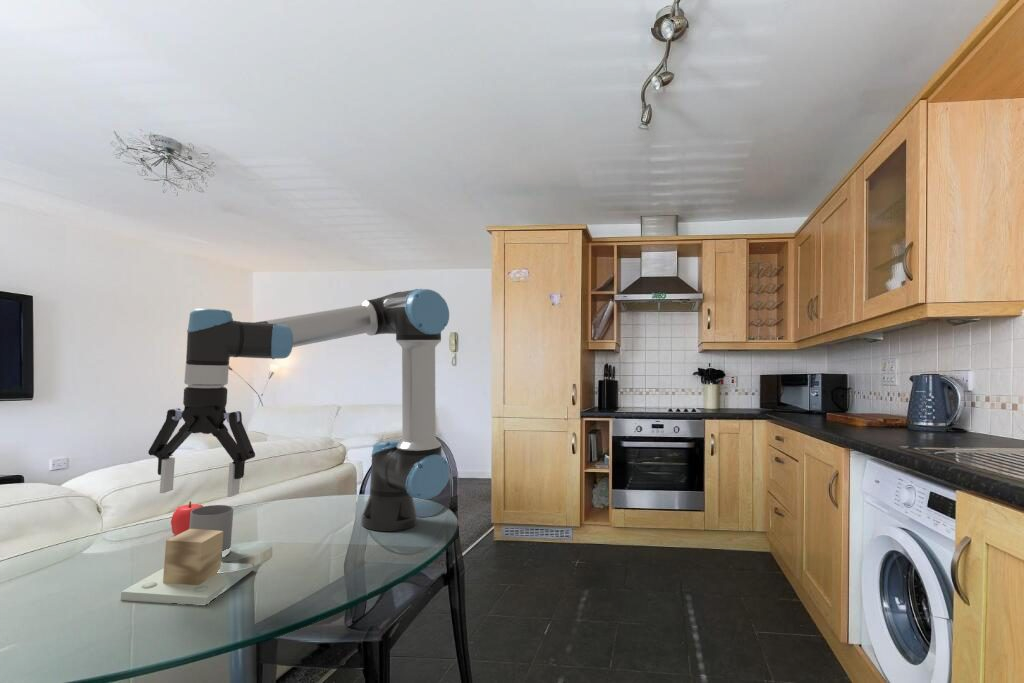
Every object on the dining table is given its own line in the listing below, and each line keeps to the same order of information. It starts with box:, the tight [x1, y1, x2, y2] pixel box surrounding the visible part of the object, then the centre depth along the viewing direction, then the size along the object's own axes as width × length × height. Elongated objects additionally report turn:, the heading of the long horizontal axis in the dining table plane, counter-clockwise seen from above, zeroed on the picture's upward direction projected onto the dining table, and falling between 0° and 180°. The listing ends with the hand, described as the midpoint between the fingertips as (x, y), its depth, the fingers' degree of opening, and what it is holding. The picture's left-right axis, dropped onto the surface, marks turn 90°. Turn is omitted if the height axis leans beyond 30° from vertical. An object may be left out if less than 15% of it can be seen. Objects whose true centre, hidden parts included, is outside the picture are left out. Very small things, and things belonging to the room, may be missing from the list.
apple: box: [170, 501, 204, 536], centre depth 130 cm, size 8×8×8 cm
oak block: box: [163, 529, 223, 585], centre depth 103 cm, size 7×7×8 cm
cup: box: [189, 504, 234, 551], centre depth 118 cm, size 8×8×10 cm
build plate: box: [120, 567, 228, 605], centre depth 103 cm, size 16×16×2 cm
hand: (199, 493), depth 103 cm, fingers open, 13 cm apart
